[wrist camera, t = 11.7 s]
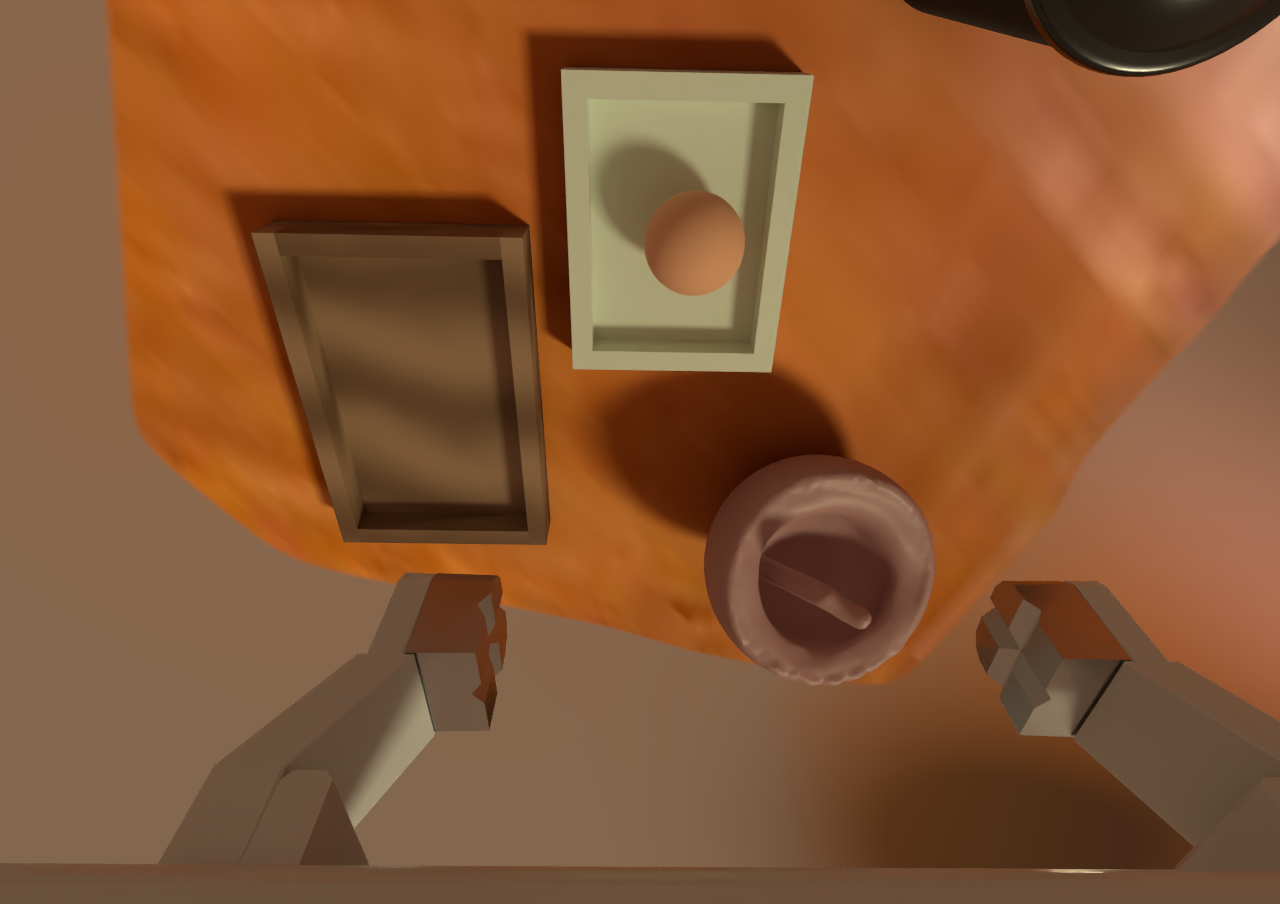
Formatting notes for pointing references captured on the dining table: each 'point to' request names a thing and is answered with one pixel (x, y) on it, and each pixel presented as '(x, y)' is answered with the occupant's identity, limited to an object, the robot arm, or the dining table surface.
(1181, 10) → the drinking cup
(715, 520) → the mortar and pestle
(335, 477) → the dish
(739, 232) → the ball
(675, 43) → the dining table surface
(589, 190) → the tray
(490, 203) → the dining table surface
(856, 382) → the dining table surface
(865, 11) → the dining table surface
